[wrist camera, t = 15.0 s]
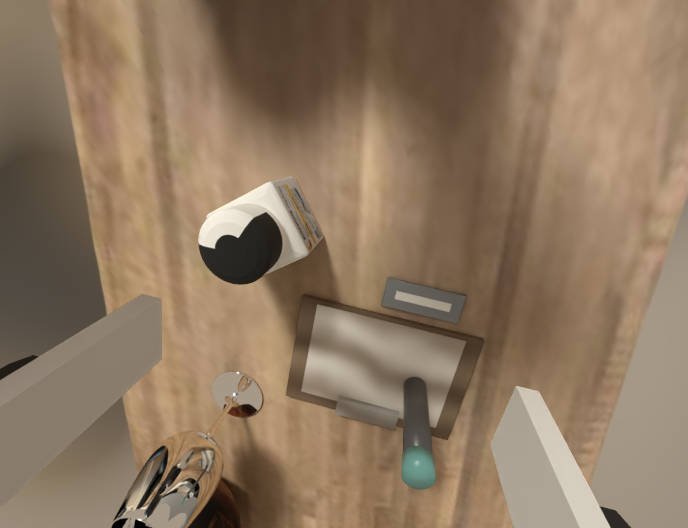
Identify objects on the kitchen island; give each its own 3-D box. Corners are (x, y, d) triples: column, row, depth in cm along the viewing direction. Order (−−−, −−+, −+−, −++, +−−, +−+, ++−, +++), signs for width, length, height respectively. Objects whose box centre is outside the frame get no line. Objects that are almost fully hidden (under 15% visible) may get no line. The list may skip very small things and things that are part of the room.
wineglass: (211, 364, 49) (93, 497, 31) (265, 376, 48) (177, 520, 30) (211, 409, 52) (101, 558, 33) (262, 421, 51) (179, 581, 32)
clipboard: (303, 294, 44) (300, 299, 42) (483, 338, 42) (486, 346, 40) (287, 392, 49) (283, 400, 47) (447, 436, 47) (448, 445, 45)
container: (325, 237, 41) (292, 274, 29) (270, 262, 43) (217, 307, 31) (294, 174, 39) (245, 186, 27) (238, 204, 42) (169, 227, 29)
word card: (388, 277, 41) (388, 278, 41) (465, 295, 40) (466, 297, 40) (381, 304, 42) (381, 305, 42) (456, 322, 42) (457, 324, 41)
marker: (400, 377, 44) (399, 463, 32) (425, 375, 44) (432, 462, 31) (405, 397, 45) (404, 489, 33) (429, 395, 44) (438, 488, 32)
